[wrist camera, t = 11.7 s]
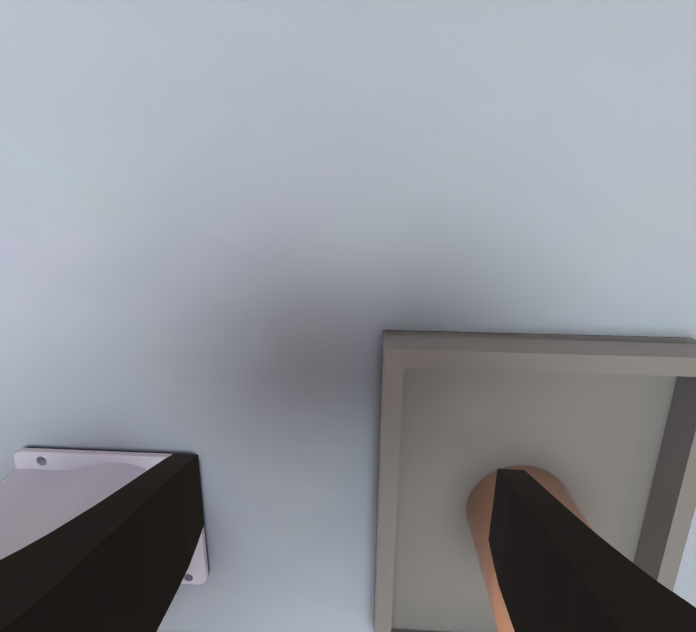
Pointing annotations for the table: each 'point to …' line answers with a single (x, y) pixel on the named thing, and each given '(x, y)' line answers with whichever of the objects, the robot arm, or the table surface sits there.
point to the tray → (525, 455)
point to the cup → (480, 527)
